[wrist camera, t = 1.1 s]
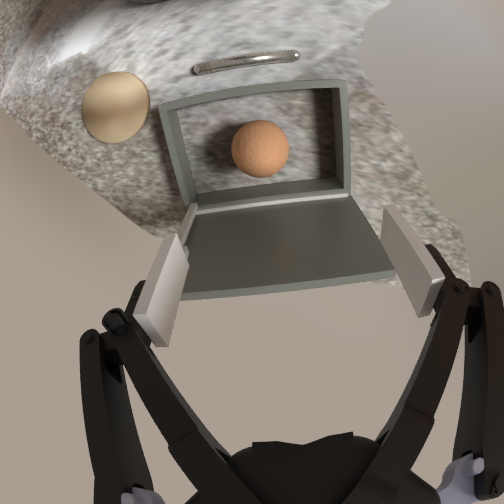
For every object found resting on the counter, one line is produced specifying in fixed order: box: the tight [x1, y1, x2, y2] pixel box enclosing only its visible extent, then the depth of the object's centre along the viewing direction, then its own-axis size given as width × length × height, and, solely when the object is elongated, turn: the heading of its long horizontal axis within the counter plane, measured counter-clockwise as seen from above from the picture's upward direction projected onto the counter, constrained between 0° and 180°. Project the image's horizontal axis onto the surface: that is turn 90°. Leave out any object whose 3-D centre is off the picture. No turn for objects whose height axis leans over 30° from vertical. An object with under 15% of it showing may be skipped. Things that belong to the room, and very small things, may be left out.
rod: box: [194, 50, 301, 75], centre depth 24 cm, size 1×11×1 cm, turn 98°
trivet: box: [82, 72, 150, 143], centre depth 26 cm, size 9×9×1 cm
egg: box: [231, 120, 289, 178], centre depth 26 cm, size 6×6×8 cm
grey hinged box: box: [158, 79, 396, 301], centre depth 23 cm, size 14×19×17 cm
